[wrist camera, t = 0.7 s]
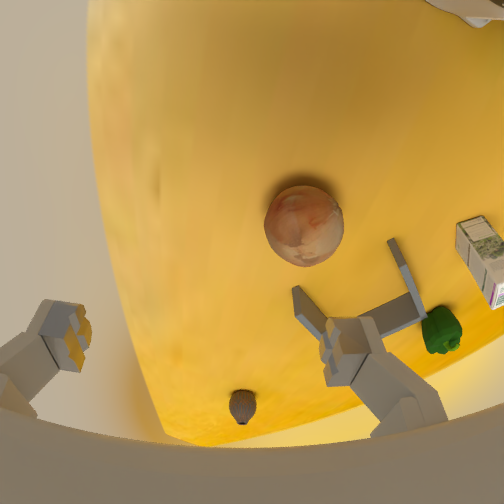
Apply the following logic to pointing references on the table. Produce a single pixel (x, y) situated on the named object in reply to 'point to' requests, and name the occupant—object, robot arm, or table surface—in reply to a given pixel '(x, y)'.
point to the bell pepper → (441, 331)
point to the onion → (304, 225)
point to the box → (384, 316)
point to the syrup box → (483, 257)
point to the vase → (242, 406)
